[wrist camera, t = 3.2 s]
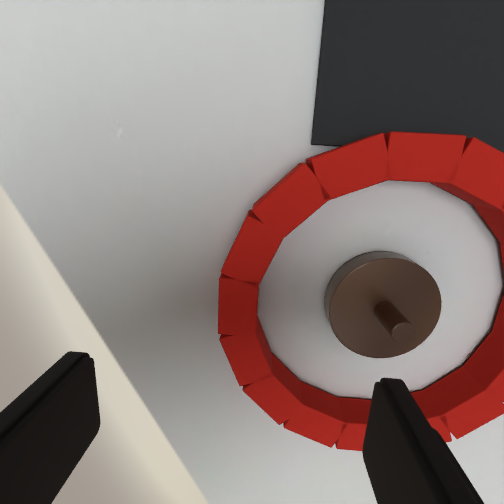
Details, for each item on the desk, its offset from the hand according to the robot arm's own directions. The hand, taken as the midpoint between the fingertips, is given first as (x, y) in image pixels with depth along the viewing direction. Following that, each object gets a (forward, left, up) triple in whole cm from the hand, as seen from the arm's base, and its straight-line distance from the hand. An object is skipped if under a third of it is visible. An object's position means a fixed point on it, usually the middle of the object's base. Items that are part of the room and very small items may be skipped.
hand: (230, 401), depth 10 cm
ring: (+8, 0, -9) cm, 12 cm away
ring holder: (+8, 0, -10) cm, 13 cm away
